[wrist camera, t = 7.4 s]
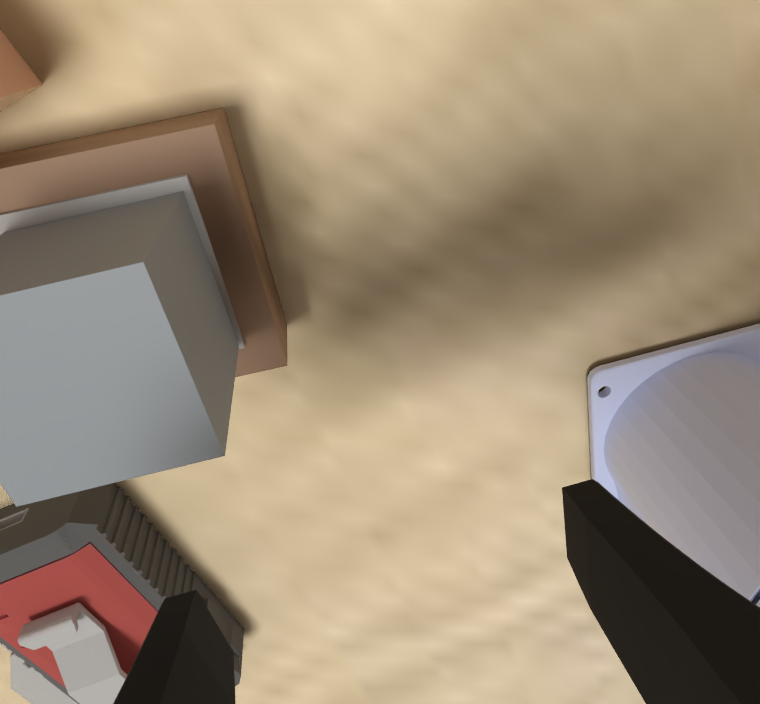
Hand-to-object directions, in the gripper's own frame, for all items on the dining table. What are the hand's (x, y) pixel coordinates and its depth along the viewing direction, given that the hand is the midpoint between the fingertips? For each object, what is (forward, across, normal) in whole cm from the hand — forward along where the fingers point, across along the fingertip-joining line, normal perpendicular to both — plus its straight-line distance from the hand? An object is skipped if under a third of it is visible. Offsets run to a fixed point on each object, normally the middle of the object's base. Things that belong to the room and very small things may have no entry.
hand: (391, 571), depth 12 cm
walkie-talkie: (+11, +12, +13) cm, 21 cm away
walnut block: (+11, +5, -4) cm, 13 cm away
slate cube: (+8, +5, -4) cm, 10 cm away
